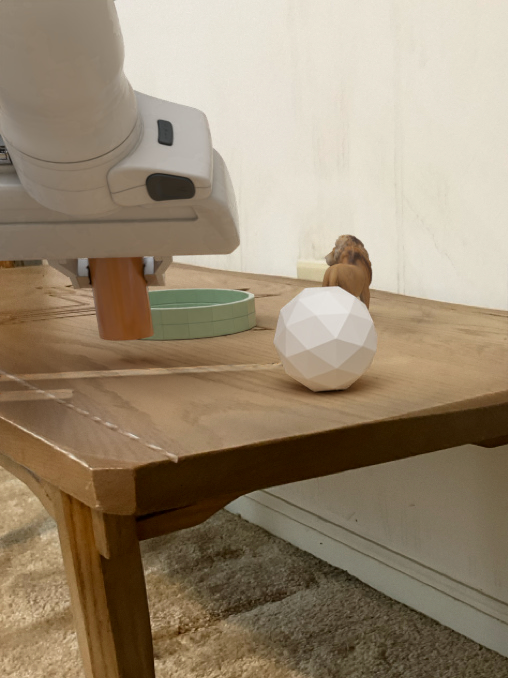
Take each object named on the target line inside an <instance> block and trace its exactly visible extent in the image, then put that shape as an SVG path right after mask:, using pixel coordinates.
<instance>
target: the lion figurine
mask: <svg viewBox="0 0 508 678" xmlns="http://www.w3.org/2000/svg"><path fill="white" fill-rule="evenodd" d="M324 259H325V263H326V265H327V266H329V267H328V268H326V270H325V272H324V275H323V277H322V278H323V279H322V284H321V287H335V286H339V287H340V288H342V289H343V290H345V291H347V292H348V293H350V294H352V295H353V296H355V297H356V298H358V297H359V300H360V301H361V302H363V303H364V304H365V305H366V307H367V309H368V311H370V301H371V291H370V286H371V284H372V282H373V268H372V265H373V264H372V262H371V260H370V254H369V252H368V250H367V249H366V248H365V244H364V243H363V242H362V240H361V239H359V238H358V237H356V236H355V235H352V234H341V235H338V238H337V239H335V242H334V247H333V248H332V250H331V251H330V252H329V253H328V254H326V255H325V256H324Z"/></svg>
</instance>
